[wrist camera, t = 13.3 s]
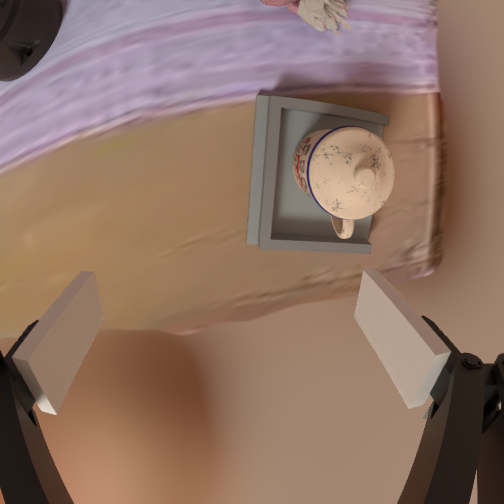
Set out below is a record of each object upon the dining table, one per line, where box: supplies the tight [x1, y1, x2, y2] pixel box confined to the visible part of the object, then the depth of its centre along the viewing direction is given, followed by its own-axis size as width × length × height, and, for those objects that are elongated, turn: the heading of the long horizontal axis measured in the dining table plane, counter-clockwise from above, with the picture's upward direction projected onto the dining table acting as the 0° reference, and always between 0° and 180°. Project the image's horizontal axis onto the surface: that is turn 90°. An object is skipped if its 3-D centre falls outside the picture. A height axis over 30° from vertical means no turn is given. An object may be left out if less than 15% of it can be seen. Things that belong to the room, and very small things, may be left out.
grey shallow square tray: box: [246, 95, 389, 254], centre depth 34 cm, size 18×16×3 cm
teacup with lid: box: [292, 126, 395, 239], centre depth 30 cm, size 12×9×12 cm
